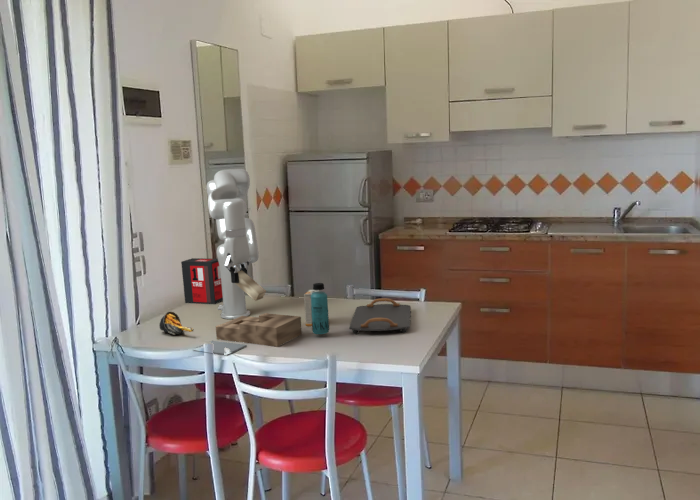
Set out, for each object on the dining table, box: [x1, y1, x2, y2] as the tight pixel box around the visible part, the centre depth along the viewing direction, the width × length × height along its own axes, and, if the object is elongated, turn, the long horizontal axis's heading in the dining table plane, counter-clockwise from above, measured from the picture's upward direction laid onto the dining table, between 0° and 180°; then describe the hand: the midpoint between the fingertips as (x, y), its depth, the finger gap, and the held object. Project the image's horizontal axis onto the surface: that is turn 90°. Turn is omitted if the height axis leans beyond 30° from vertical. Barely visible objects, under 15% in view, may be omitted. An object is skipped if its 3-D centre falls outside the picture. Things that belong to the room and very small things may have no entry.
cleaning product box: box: [180, 257, 223, 305], centre depth 310 cm, size 16×9×20 cm, turn 69°
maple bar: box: [235, 271, 267, 302], centre depth 245 cm, size 13×5×4 cm
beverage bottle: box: [311, 282, 330, 335], centre depth 243 cm, size 6×7×20 cm
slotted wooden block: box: [215, 312, 303, 348], centre depth 247 cm, size 28×16×7 cm, turn 61°
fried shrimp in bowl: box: [159, 311, 194, 336], centre depth 257 cm, size 9×11×18 cm
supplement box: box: [303, 289, 321, 327], centre depth 261 cm, size 8×5×13 cm, turn 168°
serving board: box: [349, 297, 412, 335], centre depth 259 cm, size 39×23×6 cm, turn 174°
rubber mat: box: [195, 340, 248, 356], centre depth 235 cm, size 16×11×1 cm
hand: (239, 280), depth 247 cm, fingers closed on maple bar, 4 cm apart
